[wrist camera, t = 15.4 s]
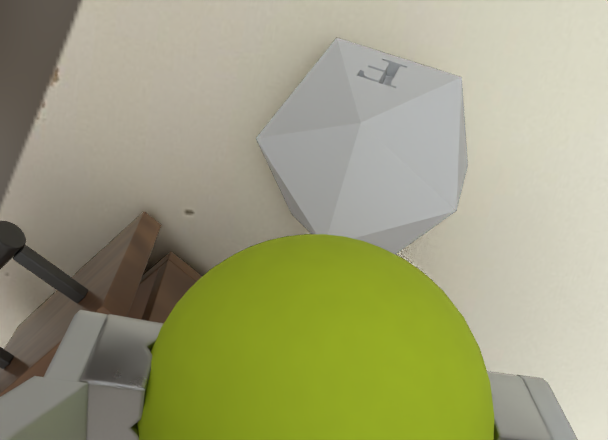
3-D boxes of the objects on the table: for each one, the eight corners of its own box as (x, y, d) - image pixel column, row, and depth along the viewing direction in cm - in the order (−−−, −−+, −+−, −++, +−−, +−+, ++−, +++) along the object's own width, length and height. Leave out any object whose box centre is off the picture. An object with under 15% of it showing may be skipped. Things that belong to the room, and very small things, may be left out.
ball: (160, 375, 14) (82, 672, 9) (188, 149, 11) (96, 394, 6) (399, 408, 15) (460, 699, 9) (487, 205, 12) (647, 467, 6)
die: (482, 119, 29) (526, 40, 19) (420, 283, 29) (431, 287, 19) (328, 68, 31) (296, -28, 21) (267, 224, 31) (205, 199, 21)
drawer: (-60, 275, 32) (-155, 382, 25) (64, 145, 28) (-8, 229, 21) (190, 437, 39) (170, 554, 32) (317, 351, 35) (323, 463, 28)
